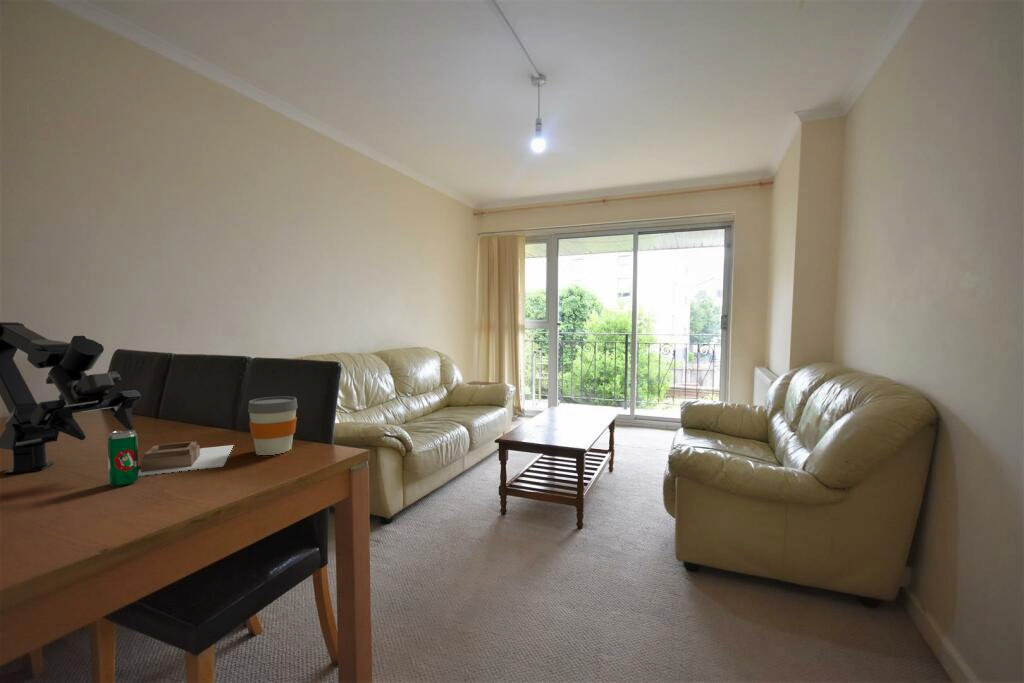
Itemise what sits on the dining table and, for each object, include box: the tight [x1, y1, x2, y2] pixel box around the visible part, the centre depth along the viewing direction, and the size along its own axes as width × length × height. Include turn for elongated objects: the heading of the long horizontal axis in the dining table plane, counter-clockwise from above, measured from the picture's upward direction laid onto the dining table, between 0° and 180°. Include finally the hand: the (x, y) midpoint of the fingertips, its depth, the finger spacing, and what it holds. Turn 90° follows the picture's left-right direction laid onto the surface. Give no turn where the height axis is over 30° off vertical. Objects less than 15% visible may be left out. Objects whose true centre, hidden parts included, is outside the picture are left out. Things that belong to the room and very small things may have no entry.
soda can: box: [106, 429, 140, 488], centre depth 97 cm, size 5×5×12 cm
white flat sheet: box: [138, 444, 235, 477], centre depth 114 cm, size 20×18×1 cm
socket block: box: [140, 440, 201, 472], centre depth 110 cm, size 10×10×5 cm
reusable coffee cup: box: [247, 395, 298, 456], centre depth 122 cm, size 13×13×15 cm
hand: (108, 433), depth 98 cm, fingers open, 9 cm apart
